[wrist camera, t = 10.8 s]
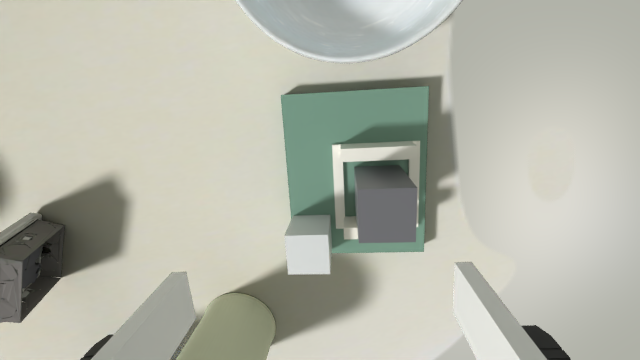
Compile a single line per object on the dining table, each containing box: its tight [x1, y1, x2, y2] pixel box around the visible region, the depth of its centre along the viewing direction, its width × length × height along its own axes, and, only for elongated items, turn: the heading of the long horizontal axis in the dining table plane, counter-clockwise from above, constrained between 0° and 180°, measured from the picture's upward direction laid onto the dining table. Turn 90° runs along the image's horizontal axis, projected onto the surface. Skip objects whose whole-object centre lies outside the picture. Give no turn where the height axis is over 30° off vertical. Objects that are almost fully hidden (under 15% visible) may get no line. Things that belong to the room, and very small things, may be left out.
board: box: [281, 86, 429, 253], centre depth 31 cm, size 17×14×4 cm
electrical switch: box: [0, 213, 65, 323], centre depth 35 cm, size 9×5×9 cm, turn 163°
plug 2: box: [354, 165, 417, 243], centre depth 28 cm, size 5×4×8 cm
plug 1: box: [285, 215, 332, 275], centre depth 32 cm, size 4×4×5 cm
